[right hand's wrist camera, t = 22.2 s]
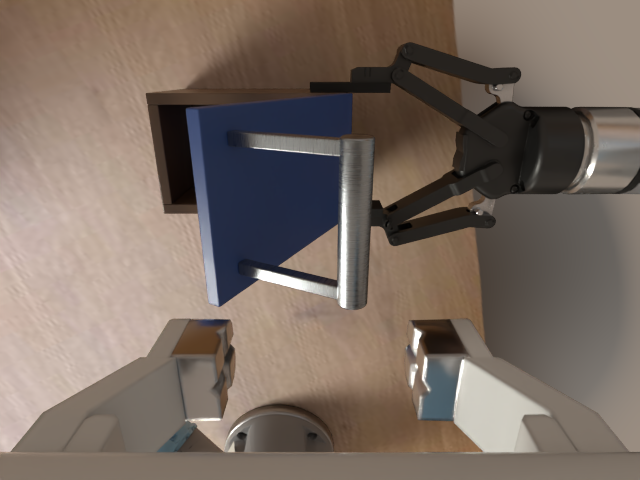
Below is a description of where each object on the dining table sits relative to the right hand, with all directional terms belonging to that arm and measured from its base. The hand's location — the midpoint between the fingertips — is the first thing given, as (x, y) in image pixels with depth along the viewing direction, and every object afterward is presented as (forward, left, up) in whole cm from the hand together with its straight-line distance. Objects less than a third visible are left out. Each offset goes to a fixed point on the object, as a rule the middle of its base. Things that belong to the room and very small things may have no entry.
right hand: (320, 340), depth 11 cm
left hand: (-1, -1, -28) cm, 28 cm away
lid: (-1, -2, -17) cm, 18 cm away
